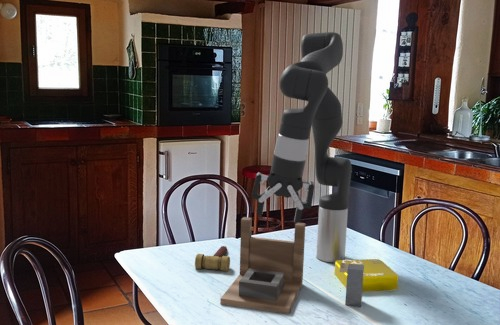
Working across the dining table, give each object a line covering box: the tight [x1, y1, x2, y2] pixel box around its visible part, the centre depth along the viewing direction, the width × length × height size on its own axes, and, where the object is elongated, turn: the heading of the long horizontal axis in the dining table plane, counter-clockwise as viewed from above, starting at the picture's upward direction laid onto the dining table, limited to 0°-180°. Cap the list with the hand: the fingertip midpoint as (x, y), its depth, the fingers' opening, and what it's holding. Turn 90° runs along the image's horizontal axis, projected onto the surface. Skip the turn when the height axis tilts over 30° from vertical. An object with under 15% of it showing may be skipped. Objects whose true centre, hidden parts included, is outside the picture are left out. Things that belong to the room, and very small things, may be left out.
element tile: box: [333, 258, 399, 292], centre depth 155 cm, size 15×15×5 cm
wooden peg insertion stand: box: [219, 216, 306, 315], centre depth 143 cm, size 20×18×18 cm
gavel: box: [194, 245, 231, 272], centre depth 169 cm, size 21×5×10 cm
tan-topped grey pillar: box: [339, 263, 364, 308], centre depth 140 cm, size 4×6×10 cm, turn 75°
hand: (277, 219), depth 127 cm, fingers open, 8 cm apart
